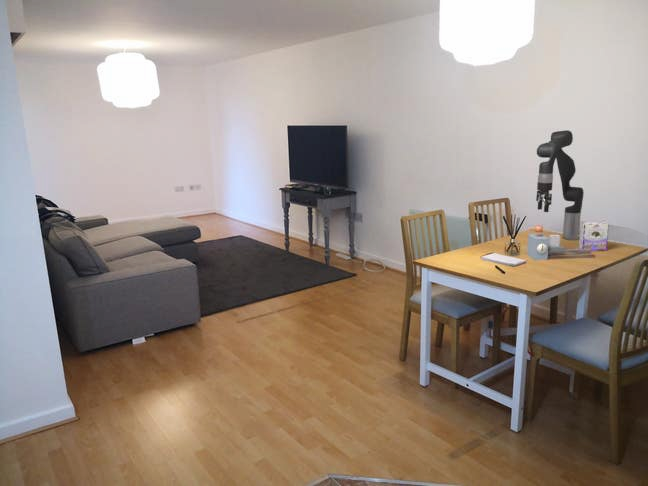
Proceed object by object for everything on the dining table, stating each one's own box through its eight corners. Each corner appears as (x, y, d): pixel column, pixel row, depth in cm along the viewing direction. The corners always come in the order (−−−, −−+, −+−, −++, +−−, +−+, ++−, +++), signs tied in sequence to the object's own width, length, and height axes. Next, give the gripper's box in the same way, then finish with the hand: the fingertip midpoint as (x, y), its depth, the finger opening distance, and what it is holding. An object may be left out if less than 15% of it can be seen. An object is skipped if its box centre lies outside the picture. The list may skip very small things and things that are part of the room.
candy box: (602, 248, 296) (605, 221, 292) (606, 250, 290) (609, 223, 286) (578, 248, 298) (580, 221, 294) (581, 251, 292) (584, 223, 288)
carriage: (543, 248, 286) (544, 233, 284) (557, 247, 286) (558, 233, 284) (549, 251, 278) (550, 237, 276) (563, 251, 278) (564, 236, 276)
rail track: (540, 254, 288) (540, 248, 287) (586, 252, 287) (586, 247, 287) (547, 259, 278) (548, 253, 278) (594, 257, 278) (595, 251, 277)
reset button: (533, 230, 282) (533, 225, 281) (540, 230, 282) (541, 225, 281) (536, 232, 278) (536, 227, 277) (543, 232, 278) (543, 226, 277)
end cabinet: (526, 254, 289) (527, 234, 286) (538, 253, 289) (540, 233, 286) (535, 260, 277) (536, 239, 274) (547, 259, 277) (549, 238, 274)
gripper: (533, 180, 280) (531, 208, 284) (543, 183, 266) (541, 213, 270) (546, 180, 280) (544, 208, 283) (557, 182, 266) (555, 212, 270)
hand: (542, 210), depth 277 cm, fingers open, 8 cm apart
